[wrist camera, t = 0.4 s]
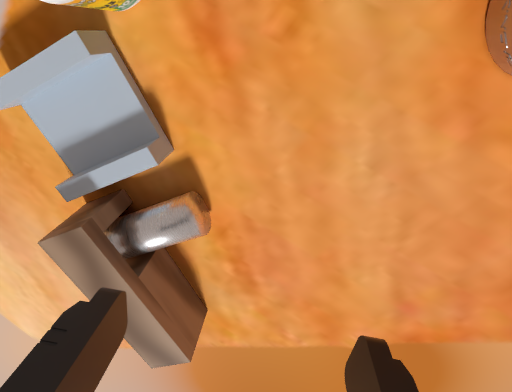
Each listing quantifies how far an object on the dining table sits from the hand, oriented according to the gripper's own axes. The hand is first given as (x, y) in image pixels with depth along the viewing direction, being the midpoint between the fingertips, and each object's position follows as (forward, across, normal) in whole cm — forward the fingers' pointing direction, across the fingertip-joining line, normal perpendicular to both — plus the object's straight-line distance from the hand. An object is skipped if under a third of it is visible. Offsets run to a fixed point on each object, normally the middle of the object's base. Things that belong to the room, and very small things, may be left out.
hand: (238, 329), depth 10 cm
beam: (+19, +10, +15) cm, 26 cm away
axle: (+19, +10, +9) cm, 23 cm away
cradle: (+18, +15, -1) cm, 24 cm away
